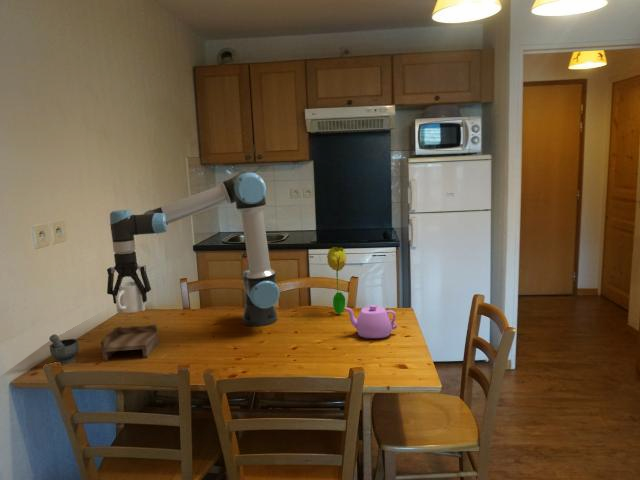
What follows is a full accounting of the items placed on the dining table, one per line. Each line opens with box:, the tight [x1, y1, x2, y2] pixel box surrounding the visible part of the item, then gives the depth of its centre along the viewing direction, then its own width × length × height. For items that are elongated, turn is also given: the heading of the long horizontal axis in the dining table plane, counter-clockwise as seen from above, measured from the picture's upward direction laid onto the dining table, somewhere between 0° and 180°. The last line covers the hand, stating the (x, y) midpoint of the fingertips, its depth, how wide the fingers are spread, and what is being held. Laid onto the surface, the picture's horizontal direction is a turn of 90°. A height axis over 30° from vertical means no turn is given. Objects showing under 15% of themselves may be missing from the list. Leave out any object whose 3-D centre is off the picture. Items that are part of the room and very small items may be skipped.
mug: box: [116, 280, 142, 314], centre depth 182 cm, size 12×8×10 cm
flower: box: [326, 246, 347, 315], centre depth 211 cm, size 9×8×30 cm
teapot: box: [344, 304, 398, 339], centre depth 186 cm, size 20×13×12 cm, turn 84°
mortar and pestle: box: [48, 333, 80, 366], centre depth 177 cm, size 11×9×12 cm
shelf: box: [100, 324, 160, 362], centre depth 184 cm, size 16×15×8 cm
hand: (131, 310), depth 182 cm, fingers closed on mug, 8 cm apart
